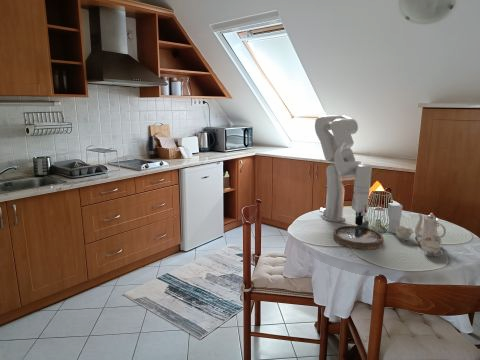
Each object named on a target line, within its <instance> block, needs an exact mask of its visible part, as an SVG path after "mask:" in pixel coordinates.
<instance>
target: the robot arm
mask: <svg viewBox="0 0 480 360" xmlns="http://www.w3.org/2000/svg"><path fill="white" fill-rule="evenodd" d="M358 130H359V124H358V122H357V120H355V119H354V118H352V117H349V116H346V115H343V114H342V115H341V114H326V115H320V116H318V117H316V119H315V122H314V131H315V134H316V136H317V138H318V140H319V142H320V144H321V145H320V146H321V149H322V152H323V156H324V159H325V161H326V162H327V163H330V164H329V165H328V166H327V167H326V170H325V171H326V172H325V173H326V199H325V207H324V208H323V207H320V208H319V213H322V215H321V217H322V219H323V220H325V221H328V222H331V223H332V222H334V223H340V222H343V221H346V216H345V215H343V211H344V204H345V203H344V200H345V186H344V184H343V182H342V181H352V180H354V181H353V183H354V184H353V194H352V200H351V209H352V210H354V211H355V218H354V219H355V220H354V223H355V226H357V225H359V224H361V223H363V222H364V217H365V216H366V214H367V211H368V199H369V193H370V188H371V181H372V171H373V168H372V167H373V166H372V165H370V164H368V163H365V162H364V161H360V160H359V161H358V160H356V158H355V155H354V154H355V153H354V151H353V150H352V147H353V146H354V143H355V142H354V139H353V137H352V135H354V134H356V133H357V132H358ZM330 131H331V132H332V133H331V132H330Z"/></svg>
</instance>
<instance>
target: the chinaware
mask: <svg viewBox="0 0 480 360" xmlns="http://www.w3.org/2000/svg"><path fill="white" fill-rule="evenodd" d="M418 216H419V219H418V221H417V224H416V225H415V229H414V230H413V228H412V227H406V226H400V225H399V227H398V228H397V227H395V228H394V229H395V231H396V232H395V234H396V236H397V238H399V240H400V241H401V242H403V241H404V242H406V241H407V240H409V238H411V237H412V234H415V237H414V240H415V241H416V242H417V246H419V247H420V248H421V249H422V250H423V252H424V254H425V255H426V256H428V257H433V256H434V257H436V256H438V257H441V256H442V255H443V251H442V249H441V248H442V247H443V244H442V238H443V237H445V235H446V233H447V231H446V227H445V226H444V225H443V224H442V223H441V222H439V220H440V219H439V218H438V217H436V215H434V213H433V212H430V214H428V215H425V216H423V214H422V213H418ZM422 225H423V226H422ZM439 226H441V227H442V229H443V234H442V235H441V236H440V235H439V233H438V227H439ZM439 251H440V253H441V254H438V253H439Z"/></svg>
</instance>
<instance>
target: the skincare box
mask: <svg viewBox="0 0 480 360" xmlns="http://www.w3.org/2000/svg"><path fill="white" fill-rule="evenodd" d="M392 201H393V203H388V216H389V224H388V230H387V231H386V232H387V233H396V231H395V229H394V228H395V227H397V228H398V227H400V223H401V218H402V213H403V205H402V204H401V203H399V202H397V201H396V200H392Z"/></svg>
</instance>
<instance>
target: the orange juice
mask: <svg viewBox="0 0 480 360" xmlns="http://www.w3.org/2000/svg"><path fill="white" fill-rule="evenodd" d="M382 185H383V184H382V183H380V182H379V180H376V181H375V182H374V183H373V185H372V186H370V193H368V197H369V196H370V194H371V192H372V191H385V189H384V187H383V186H382ZM385 192H386V191H385Z"/></svg>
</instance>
